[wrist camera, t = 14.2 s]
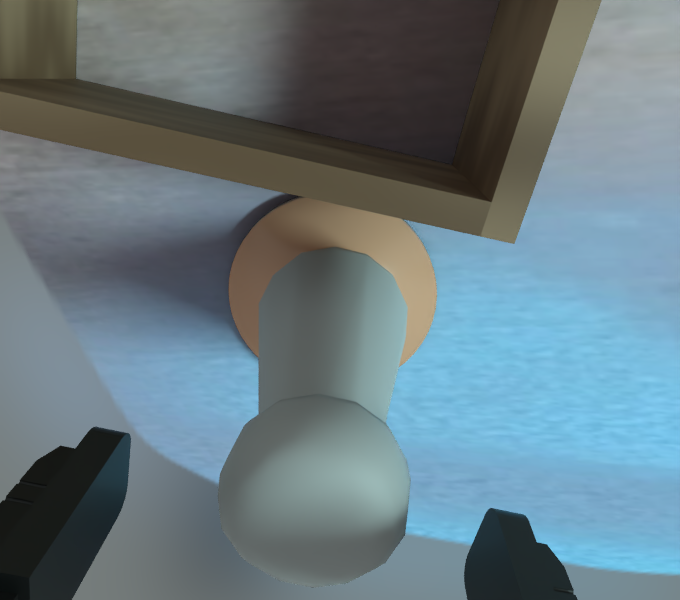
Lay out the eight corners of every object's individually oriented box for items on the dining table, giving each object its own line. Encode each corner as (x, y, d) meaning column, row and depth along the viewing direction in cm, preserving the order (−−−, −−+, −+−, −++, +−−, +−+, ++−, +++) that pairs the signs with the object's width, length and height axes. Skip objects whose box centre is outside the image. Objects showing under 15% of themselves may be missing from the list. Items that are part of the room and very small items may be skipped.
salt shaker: (287, 365, 24) (215, 645, 12) (252, 247, 22) (125, 446, 10) (413, 343, 24) (468, 615, 12) (391, 219, 21) (429, 396, 9)
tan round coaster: (247, 170, 22) (244, 172, 21) (461, 218, 22) (463, 221, 21) (219, 359, 25) (216, 366, 24) (405, 397, 25) (406, 405, 25)
